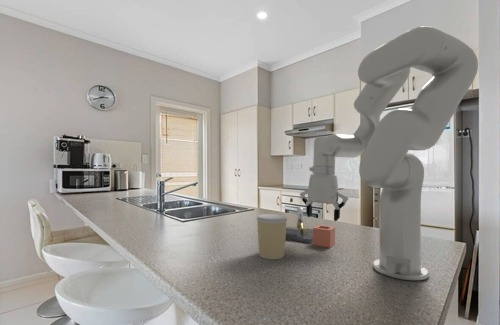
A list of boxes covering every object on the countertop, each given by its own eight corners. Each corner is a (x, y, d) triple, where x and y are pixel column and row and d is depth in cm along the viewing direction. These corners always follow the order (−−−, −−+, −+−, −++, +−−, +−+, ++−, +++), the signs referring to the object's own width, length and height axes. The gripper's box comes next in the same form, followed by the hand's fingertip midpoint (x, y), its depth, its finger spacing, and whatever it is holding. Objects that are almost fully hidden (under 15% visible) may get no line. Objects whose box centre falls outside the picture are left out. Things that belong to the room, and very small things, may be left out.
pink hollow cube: (330, 247, 88) (330, 230, 88) (313, 244, 91) (313, 227, 91) (334, 243, 93) (335, 227, 93) (318, 241, 96) (318, 224, 96)
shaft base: (310, 243, 93) (310, 212, 93) (277, 238, 100) (278, 209, 100) (323, 234, 106) (323, 207, 106) (294, 230, 113) (294, 205, 114)
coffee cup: (286, 250, 84) (286, 214, 84) (287, 261, 75) (287, 219, 75) (257, 249, 85) (258, 213, 85) (255, 259, 76) (255, 218, 76)
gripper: (297, 170, 95) (296, 216, 95) (346, 172, 85) (344, 224, 85) (304, 169, 101) (303, 213, 101) (351, 172, 91) (349, 220, 91)
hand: (322, 218), depth 93 cm, fingers open, 9 cm apart
